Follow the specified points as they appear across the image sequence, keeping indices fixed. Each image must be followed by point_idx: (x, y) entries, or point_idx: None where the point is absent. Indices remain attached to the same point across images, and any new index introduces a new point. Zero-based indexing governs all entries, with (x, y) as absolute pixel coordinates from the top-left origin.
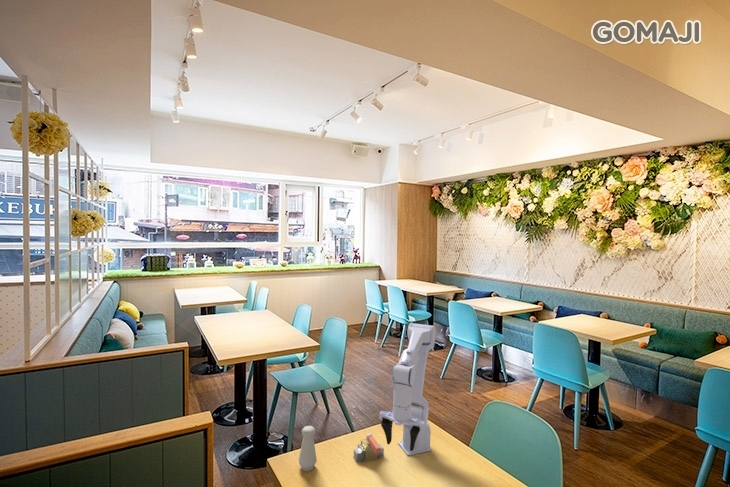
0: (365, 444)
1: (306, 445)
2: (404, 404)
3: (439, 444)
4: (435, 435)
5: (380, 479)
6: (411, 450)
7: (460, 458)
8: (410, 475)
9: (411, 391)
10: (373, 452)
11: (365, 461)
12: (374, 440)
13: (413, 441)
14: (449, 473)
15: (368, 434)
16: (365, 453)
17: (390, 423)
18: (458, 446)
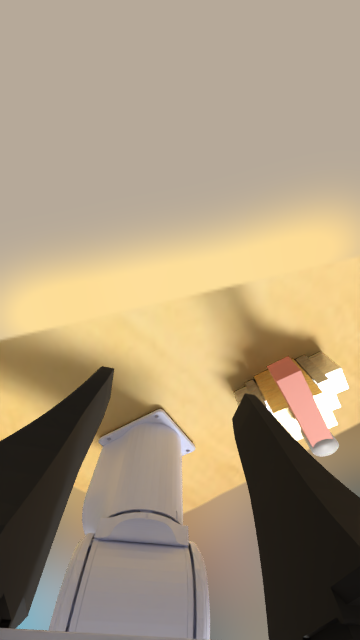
0: (321, 406)
1: None
2: None
3: (83, 462)
4: None
5: (239, 289)
6: (103, 367)
7: (14, 426)
8: (142, 330)
9: None
10: (276, 387)
11: (291, 359)
12: (304, 420)
13: (52, 412)
14: (27, 365)
15: (328, 449)
16: (307, 375)
17: (298, 579)
18: None
